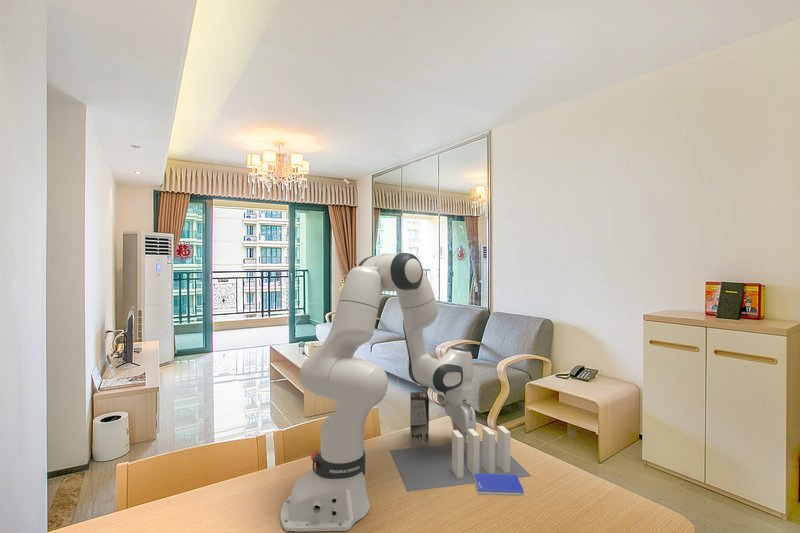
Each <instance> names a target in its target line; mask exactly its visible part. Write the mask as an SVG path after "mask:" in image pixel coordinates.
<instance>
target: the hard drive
mask: <svg viewBox="0 0 800 533" xmlns="http://www.w3.org/2000/svg"><path fill="white" fill-rule="evenodd" d="M474 481H475V483H474V484H475V488H476V491H477V492H476V493H477V495H490V496H491V495H494V496H525V491H524V488H523V486H522V483H521V482H520V481H521V480H519V478H518V477H517V475H502V474H479V473H474Z"/></svg>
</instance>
